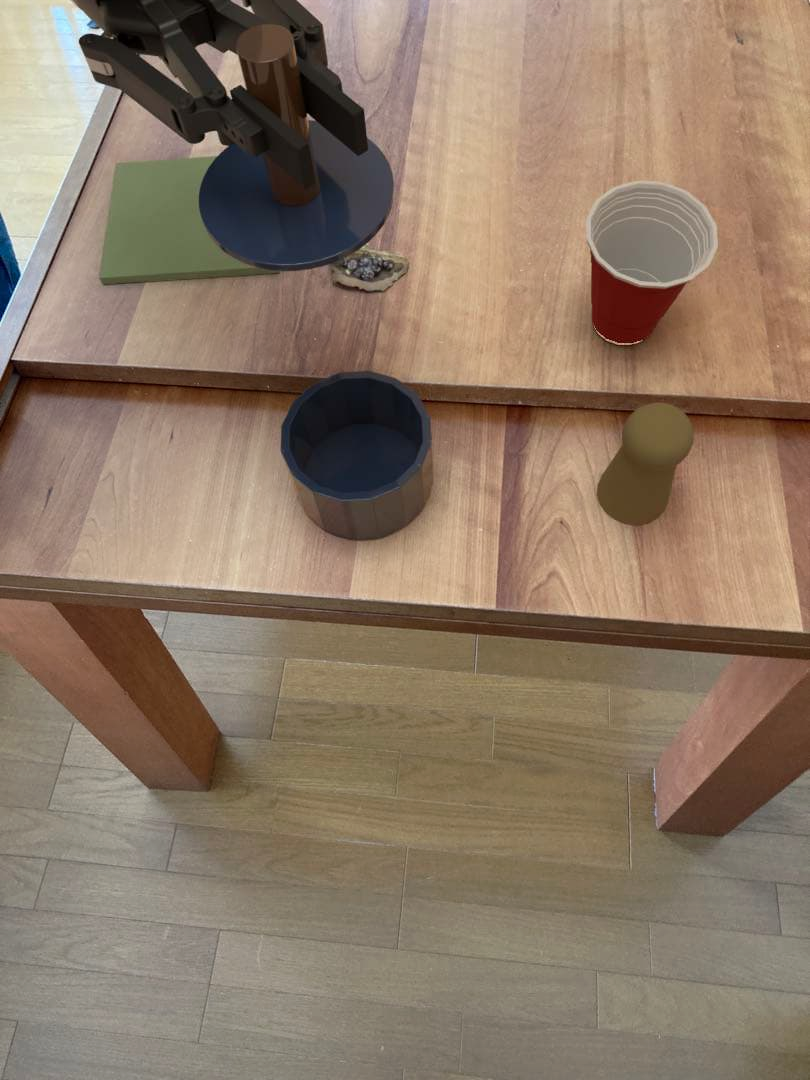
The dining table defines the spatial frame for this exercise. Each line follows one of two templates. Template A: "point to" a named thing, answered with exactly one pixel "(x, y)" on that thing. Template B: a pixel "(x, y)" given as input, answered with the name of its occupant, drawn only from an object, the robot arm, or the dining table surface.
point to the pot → (359, 454)
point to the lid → (275, 197)
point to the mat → (162, 226)
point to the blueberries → (370, 268)
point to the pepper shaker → (645, 464)
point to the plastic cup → (644, 254)
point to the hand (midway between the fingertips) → (333, 149)
